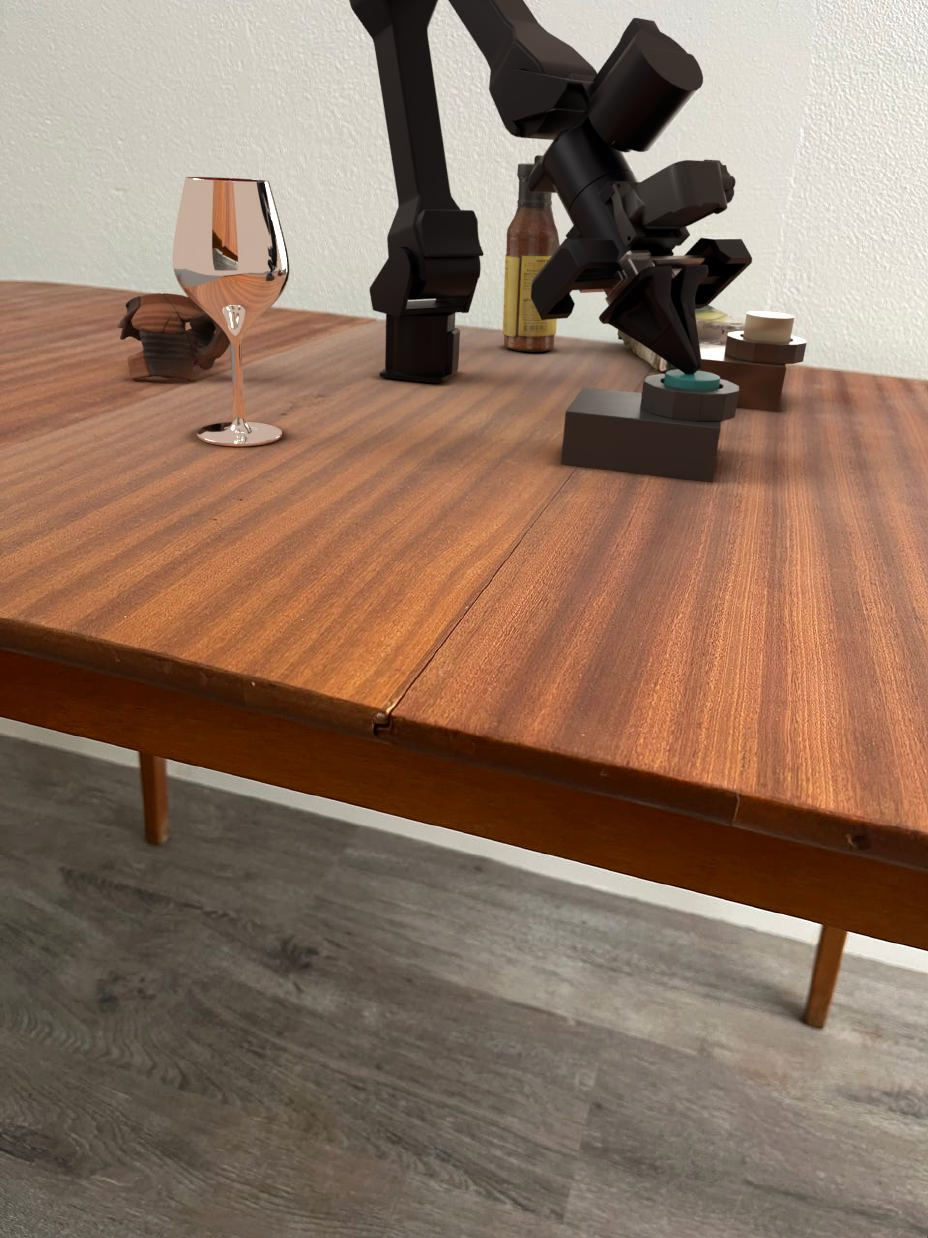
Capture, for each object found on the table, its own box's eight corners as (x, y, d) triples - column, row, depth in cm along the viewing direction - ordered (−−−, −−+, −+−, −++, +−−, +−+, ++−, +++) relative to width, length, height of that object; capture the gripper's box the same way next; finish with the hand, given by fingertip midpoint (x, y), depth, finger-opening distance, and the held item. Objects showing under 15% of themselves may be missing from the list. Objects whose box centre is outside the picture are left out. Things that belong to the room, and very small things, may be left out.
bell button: (742, 343, 93) (746, 315, 92) (742, 336, 97) (746, 309, 96) (790, 347, 92) (795, 319, 91) (788, 340, 96) (793, 313, 95)
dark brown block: (560, 464, 73) (568, 383, 71) (577, 435, 81) (585, 361, 79) (725, 484, 71) (739, 400, 68) (726, 452, 79) (739, 376, 76)
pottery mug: (97, 383, 91) (94, 296, 92) (159, 410, 100) (156, 331, 101) (211, 362, 87) (207, 271, 88) (265, 391, 96) (261, 309, 97)
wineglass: (312, 430, 78) (308, 182, 71) (260, 455, 71) (250, 183, 64) (221, 417, 81) (208, 175, 73) (163, 440, 74) (141, 175, 66)
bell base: (670, 400, 95) (679, 336, 92) (675, 382, 103) (684, 323, 100) (796, 413, 93) (809, 348, 90) (791, 394, 100) (803, 333, 98)
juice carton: (748, 376, 107) (757, 317, 105) (661, 375, 106) (668, 315, 103) (688, 345, 125) (695, 294, 123) (613, 343, 124) (618, 292, 121)
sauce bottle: (563, 349, 117) (580, 165, 109) (538, 355, 113) (554, 164, 104) (515, 341, 121) (528, 162, 112) (489, 347, 116) (500, 160, 107)
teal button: (658, 412, 72) (663, 376, 71) (662, 400, 76) (667, 367, 75) (714, 418, 72) (720, 382, 70) (715, 406, 75) (721, 372, 74)
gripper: (573, 105, 64) (680, 306, 61) (752, 123, 75) (852, 294, 71) (489, 226, 73) (579, 407, 70) (660, 227, 83) (745, 383, 80)
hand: (694, 370), depth 73 cm, fingers closed, pressing on teal button
